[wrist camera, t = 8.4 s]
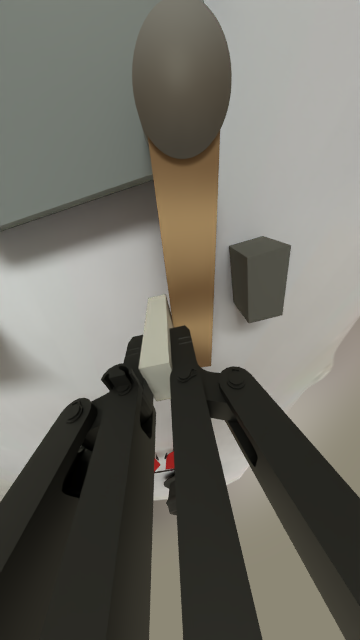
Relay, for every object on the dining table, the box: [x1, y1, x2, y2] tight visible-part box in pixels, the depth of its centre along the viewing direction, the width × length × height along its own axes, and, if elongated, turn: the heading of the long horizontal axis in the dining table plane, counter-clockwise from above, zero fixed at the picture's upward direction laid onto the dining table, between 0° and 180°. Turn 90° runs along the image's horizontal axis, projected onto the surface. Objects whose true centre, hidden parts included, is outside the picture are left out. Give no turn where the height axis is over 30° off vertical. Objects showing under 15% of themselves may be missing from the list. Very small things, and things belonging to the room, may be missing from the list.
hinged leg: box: [132, 0, 231, 367], centre depth 11 cm, size 18×4×3 cm, turn 5°
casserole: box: [164, 475, 177, 515], centre depth 53 cm, size 25×19×8 cm
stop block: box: [229, 236, 291, 323], centre depth 15 cm, size 3×6×4 cm, turn 15°
